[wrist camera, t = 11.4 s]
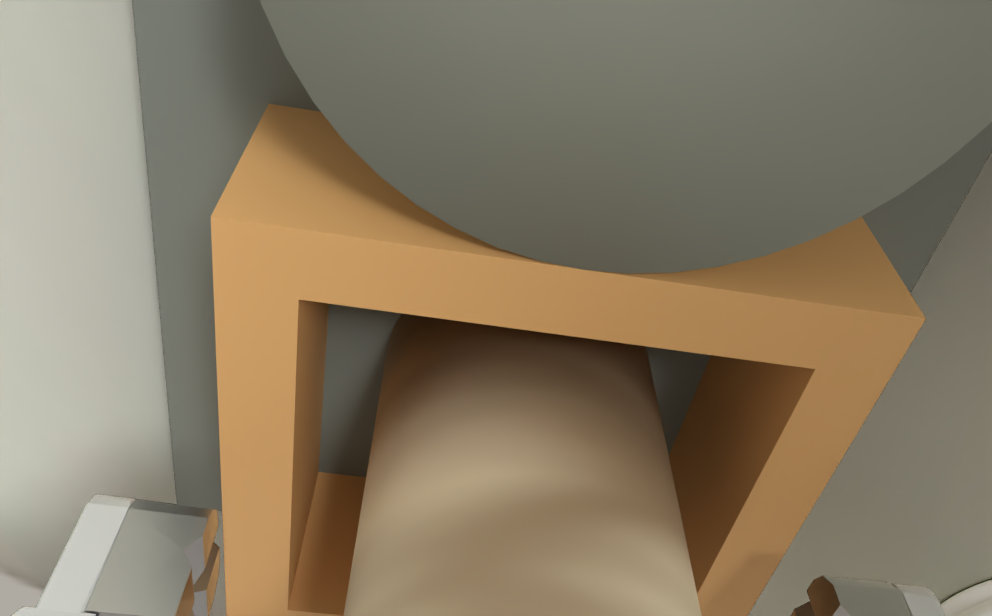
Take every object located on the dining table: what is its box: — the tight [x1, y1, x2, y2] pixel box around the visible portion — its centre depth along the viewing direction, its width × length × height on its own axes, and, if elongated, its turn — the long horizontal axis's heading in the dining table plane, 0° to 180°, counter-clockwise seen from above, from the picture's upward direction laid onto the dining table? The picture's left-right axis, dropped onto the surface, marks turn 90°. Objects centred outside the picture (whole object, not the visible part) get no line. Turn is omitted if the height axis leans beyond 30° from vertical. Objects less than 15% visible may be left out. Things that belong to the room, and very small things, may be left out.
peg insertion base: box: [132, 0, 992, 616], centre depth 12 cm, size 12×17×4 cm
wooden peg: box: [344, 313, 702, 616], centre depth 11 cm, size 4×4×9 cm
